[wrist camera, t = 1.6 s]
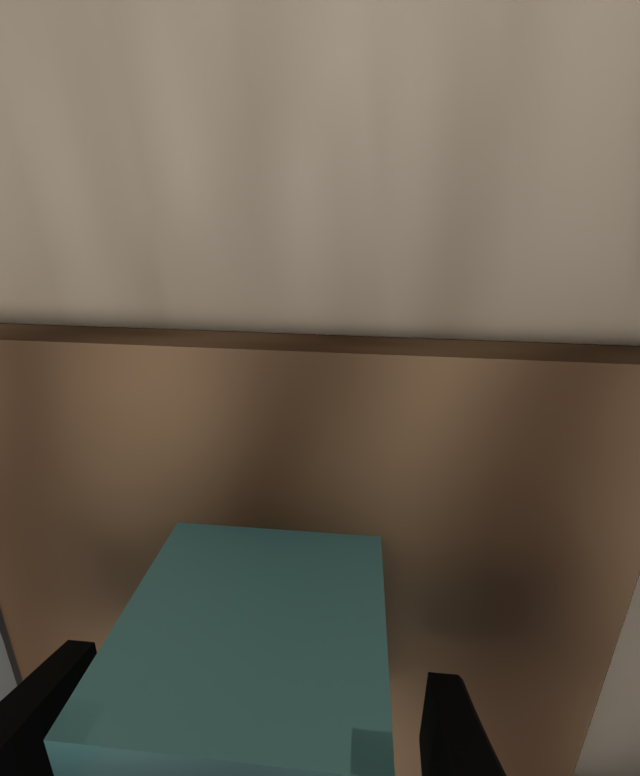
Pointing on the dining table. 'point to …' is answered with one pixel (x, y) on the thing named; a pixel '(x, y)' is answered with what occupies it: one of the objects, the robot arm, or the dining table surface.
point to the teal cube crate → (240, 663)
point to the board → (340, 498)
